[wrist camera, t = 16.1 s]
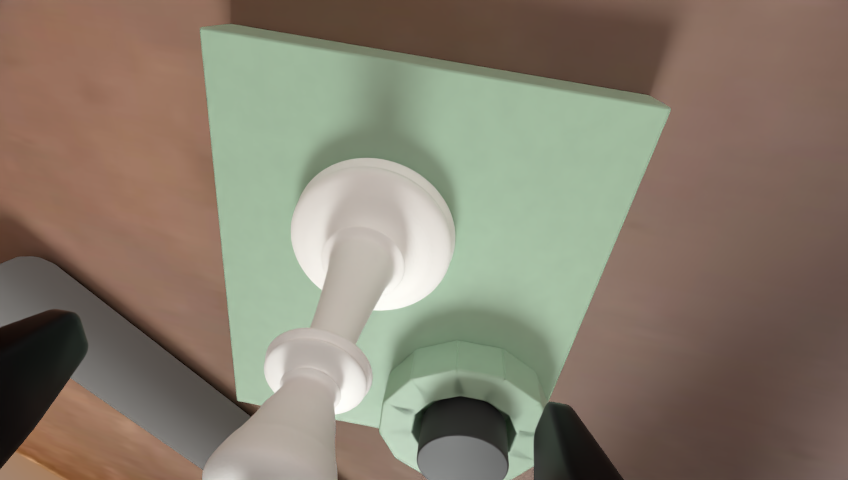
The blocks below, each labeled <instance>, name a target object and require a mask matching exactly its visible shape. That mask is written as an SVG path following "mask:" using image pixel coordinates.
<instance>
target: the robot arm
mask: <svg viewBox="0 0 848 480" xmlns="http://www.w3.org/2000/svg"><path fill="white" fill-rule="evenodd" d="M87 351H88V341H87V337H86V334H85V331H84V328H83V325H82V322H81V319H80V317H79V315H78V314H77V313H75V312H71V311H65V310H60V309H50V310H47V311H44V312H41V313H39V314H36V315H33V316H30V317H27V318H25V319H22V320H19V321H16V322H13V323H11V324H8V325H5V326H2V327H0V469H1V468H2V466H3V465H4V464H5V463H6V462H7V461H8V459H9V458H10V457H11V456H12V455H13V453H14V452H15V451H16V450H17V449H18V448H19V446H20V445H21V444H22V443H23V442H24V440H25V439H26V438H27V437H28V435H29V434H30V433H31V432H32V430H33V429H34V428H35V426H36V425H37V424H38V422H39V421H40V420H41V418H42V417H43V416H44V414H45V413H46V411H47V410H48V409H49V407H50V406H51V404H52V403H53V401H54V400H55V399H56V397H57V396H58V394H59V393H60V392H61V390H62V389H63V387H64V386H65V384H66V383H67V382H68V380H69V379H70V377H71V376H72V375H73V373H74V372H75V370H76V369H77V367H78V366H79V365H80V363H81V362H82V360H83V359H84V357H85V356H86V354H87ZM534 480H624V479H623V478H622V476H621V475H620V474H619V472H618V471H617V469H616V468H615V467H614V465H613V464H612V462H611V461H610V460H609V458H608V457H607V455H606V454H605V453H604V451H603V450H602V449H601V447H600V446H599V444H598V443H597V442H596V440H595V439H594V437H593V436H592V435H591V433H590V432H589V430H588V429H587V428H586V426H585V425H584V423H583V422H582V421H581V419H580V418H579V417H578V415H577V414H576V412H575V411H574V410H573V408H572V407H570V406H569V405H566V404H561V403H555V402H548V403H547V404H546V405H545V407H544V410H543V412H542V415H541V417H540V419H539V422H538V424H537V427H536V429H535V433H534Z"/></svg>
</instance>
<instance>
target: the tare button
mask: <svg viewBox="0 0 848 480" xmlns="http://www.w3.org/2000/svg"><path fill="white" fill-rule="evenodd" d="M417 465H418V468H419V470H420V471H421V473H422V474H423V475H424V476H425V478H427V479H428V480H503V479H504V478H505V477H506V475H507V473H508V469H509V460H508V444H507V429H506V422H505V419H504V417H503V416H502V414H501V413H500V412H499V411H498V410H497V409H496V408H495V407H494V406H493V405H491V404H489V403H488V402H485V401H483V400H479V399H473V398H468V397H463V396H458V397H452V398H447V399H442V400H438V401H436V402H434V403H433V404H431V405H430V406H429V407H428V408H427V409H426V411H425V412H424V414H423V417H422V421H421V429H420V436H419V444H418V451H417Z"/></svg>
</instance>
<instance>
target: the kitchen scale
mask: <svg viewBox="0 0 848 480" xmlns="http://www.w3.org/2000/svg"><path fill="white" fill-rule="evenodd" d="M200 37H201V46H202V56H203V66H204V76H205V86H206V96H207V106H208V116H209V126H210V136H211V146H212V156H213V166H214V176H215V186H216V196H217V206H218V216H219V226H220V236H221V246H222V256H223V266H224V276H225V286H226V296H227V305H228V315H229V325H230V335H231V345H232V355H233V365H234V375H235V385H236V395H237V401H240V402H245V403H251V404H256V405H262V404H263V403H264V402H265V401H266V400H267V399H268V398H270V397H271V396H272V395H273V394H274V392H273V391H272V389H271V388H270V387H269V385H268V383H267V381H266V378H265V375H264V362H265V355H266V351H267V349H268V347H269V345H270V344H271V342H272V341H273V340H274V339H275V338H276V337H278V336H279V335H281V334H282V333H284V332H287V331H289V330H293V329H297V328H310V326H311V323H312V320H313V318H314V315H315V312H316V309H317V305H318V302H319V299H320V295H321V292H322V290H321V289H319V288H318V287H317V286H316V285H315V284H314V283H313V282H312V281H311V280H310V279H309V278H308V276H307V275H306V274H305V272H304V271H303V269H302V268H301V266H300V264H299V263H298V261H297V258H296V256H295V253H294V250H293V246H292V242H291V221H292V216H293V212H294V210H295V207H296V205H297V203H298V201H299V198H300V196H301V194H302V192H303V190H304V189H305V187H306V186H307V184H308V183H309V182H310V181H311V180H312V179H313V178H314V177H315V176H316V175H317V174H318V173H320V172H321V171H323V170H324V169H326V168H327V167H329V166H331V165H334V164H336V163H339V162H342V161H345V160H349V159H355V158H378V159H384V160H389V161H392V162H396V163H398V164H401V165H403V166H406V167H408V168H410V169H412V170H413V171H415V172H417V173H418V174H420V175H421V176H422V177H424V178H425V179H426V180H427V181H429V182H430V183H431V184H432V185H433V186H434V187H435V188H436V189H437V191H438V192H439V193H440V194H441V196H442V197H443V199H444V200H445V202H446V204H447V206H448V208H449V210H450V212H451V215H452V218H453V222H454V226H455V248H454V253H453V256H452V259H451V262H450V264H449V267H448V270H447V272H446V274H445V276H444V278H443V279H442V281H441V282H440V284H439V285H438V286H437V287H436V288H435V289H434V290H433V291H432V292H431V293H430V294H429V295H427V296H426V297H425V298H423V299H422V300H420V301H418V302H416V303H414V304H412V305H409V306H406V307H403V308H399V309H394V310H384V311H376V310H373V311H372V313H371V315H370V317H369V319H368V321H367V323H366V325H365V327H364V328H363V330H362V332H361V334H360V336H359V339H358V341H357V343H356V346H357V347H359V348H360V349H361V351H362V352H363V353H364V354H365V356H366V357H367V359H368V361H369V363H370V365H371V368H372V374H373V379H372V385H371V387H370V390H369V391H368V393H367V394H366V395H365V397H364V398H363V400H362V401H361V402H360V403H359V405H357V406H356V407H355V408H353V409H351V410H350V411H347V412H345V413H341V414H336V415H335V420H340V421H345V422H350V423H355V424H361V425H366V426H371V427H376V428H379V433H380V434H381V436H382V438H383V439H384V441H385V442H386V444H387V446H388V447H389V449H390V450H391V452H392V453H393V455H394V457H395V458H396V459H398V460H400V461H401V462H403V463H405V464H406V465H408V466H410V467H411V468H413V469H415V470H417V471H418V472H420V473H421V471H420V470H419V468H418V465H417V451H418V444H419V436H420V429H421V421H422V417H423V414H424V412H425V411H426V409H427V408H428V407H429V406H430V405H431V404H433V403H434V402H436V401H438V400H442V399H447V398H452V397H458V396H463V397H468V398H473V399H479V400H483V401H485V402H488V403H489V404H491V405H493V406H494V407H495V408H496V409H497V410H498V411H499V412H500V413H501V414H502V416H503V417H504V419H505V422H506V429H507V444H508V460H509V469H508V473H507V475H506V477H505V478H504V479H503V480H511V479H513V478H515V477H516V476H518V475H520V474H521V473H523V472H525V471H527V470H528V469H530V468H532V467H533V466H534V433H535V429H536V427H537V424H538V422H539V419H540V417H541V415H542V412H543V410H544V407H545V405H546V404H547V403H548V401H549V399H550V396H551V394H552V392H553V389H554V387H555V385H556V382H557V380H558V377H559V375H560V373H561V370H562V368H563V366H564V363H565V361H566V358H567V356H568V354H569V351H570V349H571V347H572V344H573V342H574V339H575V337H576V335H577V332H578V330H579V327H580V325H581V323H582V320H583V318H584V316H585V313H586V311H587V308H588V306H589V304H590V301H591V299H592V297H593V294H594V292H595V289H596V287H597V285H598V282H599V280H600V278H601V275H602V273H603V270H604V268H605V266H606V263H607V261H608V258H609V256H610V254H611V251H612V249H613V247H614V244H615V242H616V239H617V237H618V235H619V232H620V230H621V228H622V225H623V223H624V220H625V218H626V216H627V213H628V211H629V208H630V206H631V204H632V201H633V199H634V197H635V194H636V192H637V189H638V187H639V185H640V182H641V180H642V178H643V175H644V173H645V170H646V168H647V166H648V163H649V161H650V159H651V156H652V154H653V151H654V149H655V147H656V144H657V142H658V139H659V137H660V135H661V132H662V130H663V128H664V125H665V123H666V120H667V118H668V116H669V113H670V111H671V108H670V107H668V106H667V105H665V104H663V103H662V102H660V101H658V100H656V99H655V98H653V97H651V96H650V95H645V94H639V93H633V92H627V91H622V90H616V89H610V88H604V87H598V86H592V85H586V84H581V83H575V82H569V81H563V80H557V79H551V78H545V77H540V76H534V75H528V74H522V73H516V72H510V71H504V70H499V69H493V68H487V67H481V66H475V65H469V64H463V63H458V62H452V61H446V60H440V59H434V58H428V57H422V56H417V55H411V54H405V53H399V52H393V51H387V50H381V49H376V48H370V47H364V46H358V45H352V44H346V43H340V42H335V41H329V40H323V39H317V38H311V37H305V36H300V35H294V34H288V33H282V32H276V31H270V30H264V29H259V28H253V27H247V26H241V25H235V24H224V25H215V26H207V27H201V28H200Z"/></svg>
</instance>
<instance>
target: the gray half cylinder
mask: <svg viewBox="0 0 848 480" xmlns="http://www.w3.org/2000/svg"><path fill="white" fill-rule="evenodd" d="M50 309H60V310H65V311H71V312H75V313H77V314H78V315H79V317H80V319H81V322H82V325H83V328H84V331H85V334H86V337H87V341H88V351H87V354H86V356H85V357H84V359H83V360H82V362H81V363H80V365H79V366H78V367H77V369H76V370H75V372H74V373H73V375H72V376H71V377H70V378H71V379H73V380H74V381H76V382H77V383H78V384H80V385H81V386H83V387H84V388H86V389H87V390H89V391H90V392H91V393H93V394H94V395H96V396H97V397H99V398H100V399H102V400H103V401H104V402H106V403H107V404H109V405H110V406H112V407H113V408H114V409H116V410H117V411H119V412H120V413H122V414H123V415H125V416H126V417H127V418H129V419H130V420H132V421H133V422H135V423H136V424H138V425H139V426H140V427H142V428H143V429H145V430H146V431H148V432H149V433H150V434H152V435H153V436H155V437H156V438H158V439H159V440H161V441H162V442H163V443H165V444H166V445H168V446H169V447H171V448H172V449H174V450H175V451H176V452H178V453H179V454H181V455H182V456H184V457H185V458H186V459H188V460H189V461H191V462H192V463H194V464H195V465H197V466H198V467H199V468H201V469H202V470H203V469H204V466H205V464H206V462H207V460H208V459H209V457H210V456H211V455H212V454H213V452H214V451H215V450H216V449H217V448H218V447H219V446H220V445H221V444H222V443H223V442H224V441H225V440H226V439H227V438H228V437H229V436H230V435H231V434H232V433H233V432H234V431H236V430H237V429H238V428H240V427H241V426H242V425H243V424H244V423H245V422H246V421H248V420H249V419H250V418H251V417H250V416H249V415H248V414H247V413H245V412H244V411H243V410H241V409H240V408H239V407H238V406H236V405H235V404H234V403H232V402H231V401H230V400H229V399H227V398H226V397H225V396H223V395H222V394H221V393H220V392H218V391H217V390H216V389H214V388H213V387H212V386H211V385H209V384H208V383H207V382H205V381H204V380H203V379H202V378H200V377H199V376H198V375H197V374H195V373H194V372H193V371H191V370H190V369H189V368H188V367H186V366H185V365H184V364H182V363H181V362H180V361H179V360H177V359H176V358H175V357H173V356H172V355H171V354H170V353H168V352H167V351H166V350H164V349H163V348H162V347H161V346H159V345H158V344H157V343H155V342H154V341H153V340H152V339H150V338H149V337H148V336H146V335H145V334H144V333H143V332H141V331H140V330H139V329H137V328H136V327H135V326H134V325H132V324H131V323H130V322H128V321H127V320H126V319H125V318H123V317H122V316H121V315H119V314H118V313H117V312H116V311H114V310H113V309H112V308H110V307H109V306H108V305H107V304H105V303H104V302H103V301H101V300H100V299H99V298H98V297H96V296H95V295H94V294H92V293H91V292H90V291H89V290H87V289H86V288H85V287H83V286H82V285H81V284H80V283H78V282H77V281H76V280H74V279H73V278H72V277H71V276H69V275H68V274H67V273H65V272H64V271H63V270H62V269H60V268H59V267H58V266H56V265H55V264H54V263H51V262H49V261H47V260H44V259H42V258H40V257H33V256H25V257H16V258H14V259H11V260H9V261H6V262H4V263H1V264H0V327H2V326H5V325H8V324H11V323H13V322H16V321H19V320H22V319H25V318H27V317H30V316H33V315H36V314H39V313H41V312H44V311H47V310H50Z"/></svg>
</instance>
